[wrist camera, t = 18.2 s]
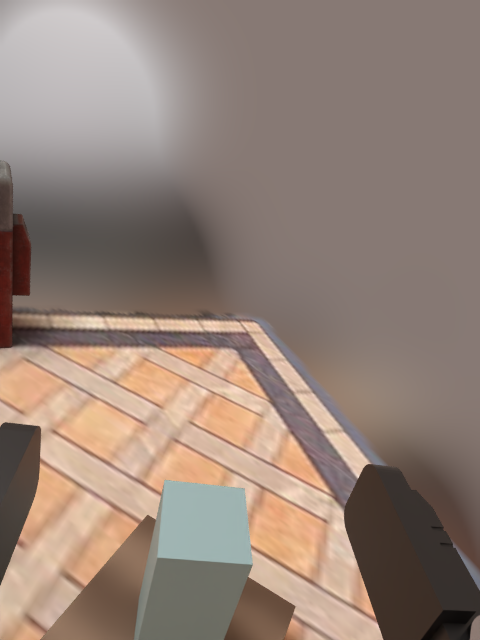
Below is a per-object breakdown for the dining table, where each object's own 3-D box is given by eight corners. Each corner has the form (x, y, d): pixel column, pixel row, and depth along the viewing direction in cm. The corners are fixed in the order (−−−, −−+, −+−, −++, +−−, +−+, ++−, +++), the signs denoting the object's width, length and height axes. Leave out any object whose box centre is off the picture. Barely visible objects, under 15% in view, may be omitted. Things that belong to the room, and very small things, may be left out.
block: (207, 681, 28) (252, 564, 23) (128, 679, 27) (157, 557, 22) (206, 601, 33) (244, 488, 27) (139, 597, 32) (164, 479, 27)
